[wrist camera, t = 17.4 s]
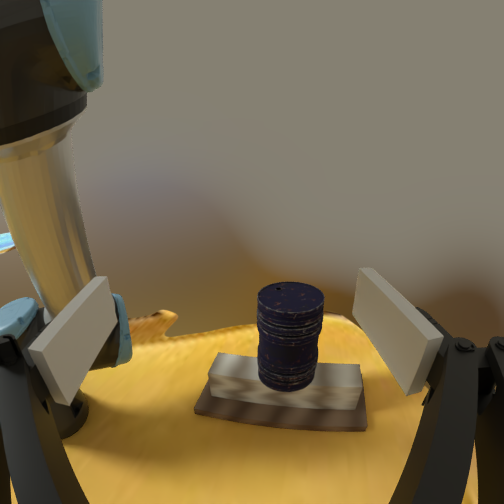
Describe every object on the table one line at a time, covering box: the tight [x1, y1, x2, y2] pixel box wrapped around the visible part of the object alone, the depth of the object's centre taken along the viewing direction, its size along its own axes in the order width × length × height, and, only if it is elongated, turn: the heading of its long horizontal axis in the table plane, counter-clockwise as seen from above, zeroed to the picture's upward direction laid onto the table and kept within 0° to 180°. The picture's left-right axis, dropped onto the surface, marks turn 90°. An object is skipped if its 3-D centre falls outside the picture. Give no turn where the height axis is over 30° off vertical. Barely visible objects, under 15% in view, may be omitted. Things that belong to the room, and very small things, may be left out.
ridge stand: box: [194, 352, 367, 432], centre depth 47 cm, size 30×14×8 cm, turn 78°
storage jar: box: [257, 282, 324, 392], centre depth 43 cm, size 10×10×15 cm
